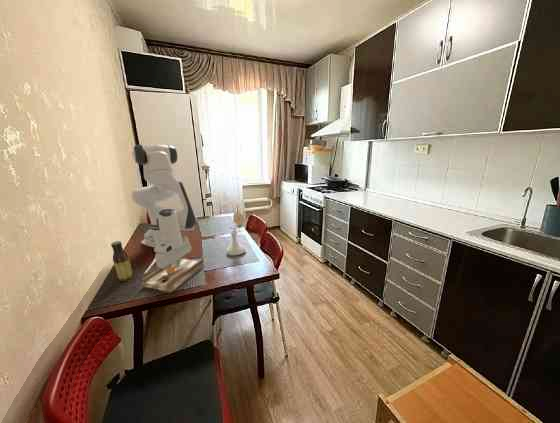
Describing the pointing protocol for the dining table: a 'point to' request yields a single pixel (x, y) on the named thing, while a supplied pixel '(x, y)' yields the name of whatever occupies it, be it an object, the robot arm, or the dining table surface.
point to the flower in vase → (235, 247)
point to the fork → (150, 265)
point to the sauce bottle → (121, 262)
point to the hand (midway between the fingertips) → (177, 267)
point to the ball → (170, 270)
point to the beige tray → (172, 275)
